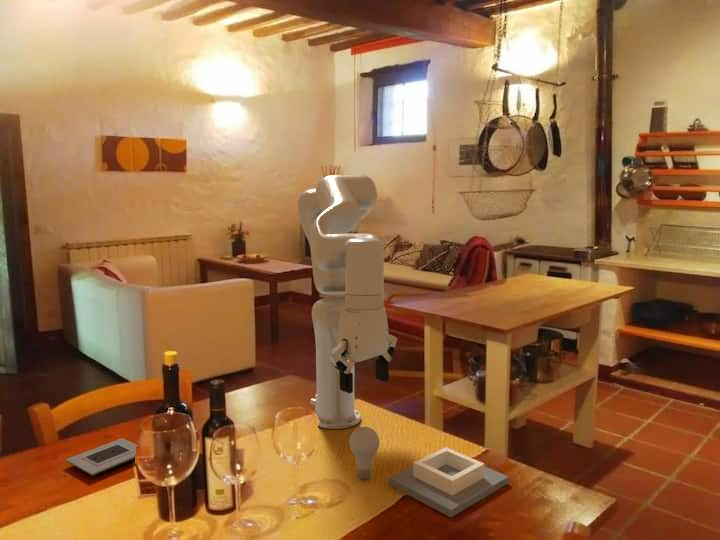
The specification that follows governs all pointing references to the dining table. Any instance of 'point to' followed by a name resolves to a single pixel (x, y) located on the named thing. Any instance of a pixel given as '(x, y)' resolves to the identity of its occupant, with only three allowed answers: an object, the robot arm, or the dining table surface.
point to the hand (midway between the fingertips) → (364, 385)
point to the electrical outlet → (104, 457)
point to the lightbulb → (364, 449)
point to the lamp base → (448, 481)
